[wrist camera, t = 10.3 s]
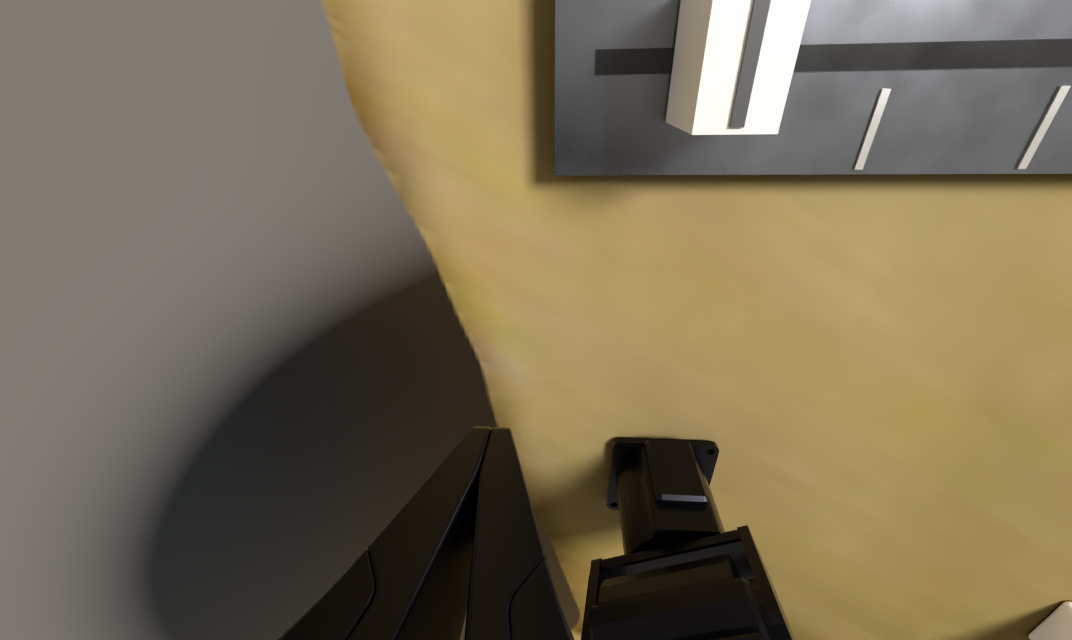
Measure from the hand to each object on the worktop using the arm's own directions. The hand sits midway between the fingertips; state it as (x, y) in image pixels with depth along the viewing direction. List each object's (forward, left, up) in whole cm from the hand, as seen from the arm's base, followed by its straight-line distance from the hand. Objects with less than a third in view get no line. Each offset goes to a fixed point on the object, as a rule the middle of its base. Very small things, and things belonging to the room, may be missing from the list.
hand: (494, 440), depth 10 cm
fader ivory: (+8, -7, -11) cm, 15 cm away
